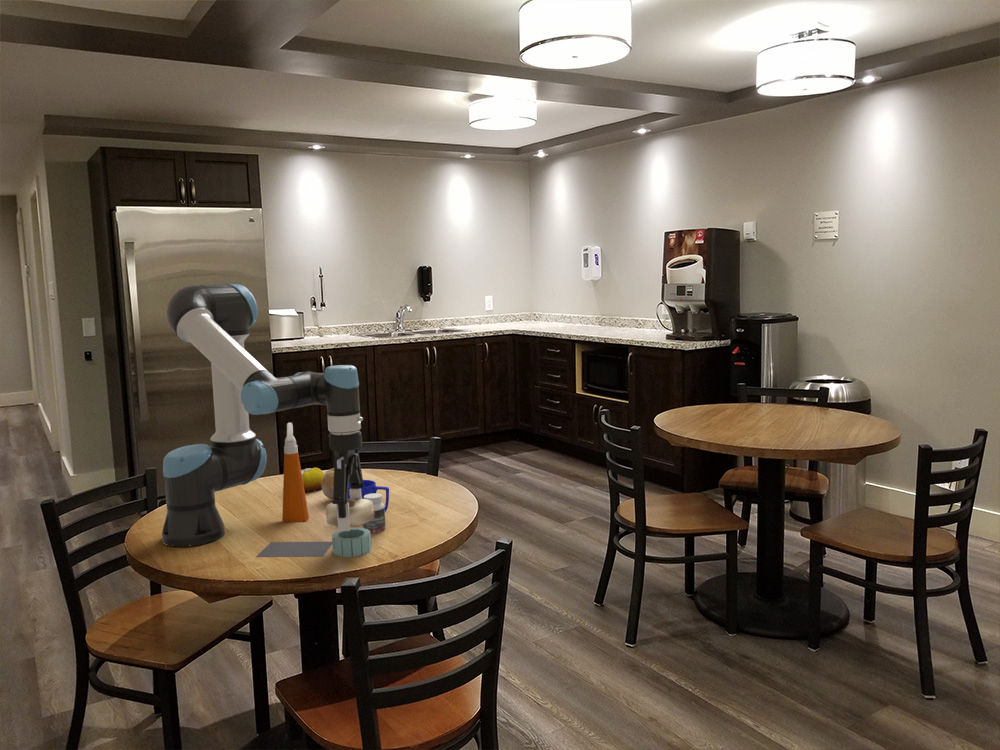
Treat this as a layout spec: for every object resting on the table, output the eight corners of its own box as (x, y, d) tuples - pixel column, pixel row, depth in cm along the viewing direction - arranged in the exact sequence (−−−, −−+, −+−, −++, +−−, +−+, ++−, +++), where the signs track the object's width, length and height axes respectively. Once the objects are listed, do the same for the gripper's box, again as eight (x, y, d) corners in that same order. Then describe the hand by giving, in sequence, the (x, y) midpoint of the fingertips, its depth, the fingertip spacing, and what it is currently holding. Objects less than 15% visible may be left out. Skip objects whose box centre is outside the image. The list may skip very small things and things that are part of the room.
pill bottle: (366, 538, 198) (364, 500, 197) (361, 531, 203) (358, 494, 202) (388, 534, 200) (386, 496, 199) (382, 528, 205) (380, 491, 204)
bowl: (329, 560, 183) (327, 540, 182) (339, 547, 192) (338, 527, 191) (366, 560, 182) (365, 539, 182) (374, 547, 191) (373, 527, 190)
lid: (321, 526, 181) (319, 507, 180) (333, 512, 191) (332, 494, 191) (368, 526, 180) (366, 506, 179) (378, 511, 191) (377, 493, 190)
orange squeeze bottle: (309, 511, 222) (302, 420, 219) (309, 522, 212) (302, 427, 208) (283, 513, 220) (276, 422, 217) (282, 525, 210) (275, 429, 207)
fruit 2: (328, 495, 238) (326, 463, 237) (363, 495, 237) (361, 462, 236) (317, 505, 228) (315, 471, 227) (353, 505, 227) (351, 471, 225)
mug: (385, 525, 208) (383, 488, 206) (342, 523, 210) (340, 487, 209) (395, 515, 215) (393, 480, 214) (354, 514, 218) (352, 479, 217)
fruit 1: (314, 480, 254) (316, 458, 252) (330, 495, 247) (333, 473, 245) (282, 487, 247) (284, 464, 244) (298, 502, 240) (301, 479, 237)
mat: (256, 560, 184) (255, 556, 184) (271, 545, 194) (271, 542, 194) (322, 560, 183) (322, 556, 183) (334, 545, 193) (334, 541, 193)
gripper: (348, 442, 171) (354, 538, 174) (372, 421, 194) (377, 507, 197) (314, 442, 172) (320, 539, 174) (342, 422, 195) (347, 507, 198)
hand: (350, 522), depth 186 cm, fingers closed on lid, 11 cm apart
